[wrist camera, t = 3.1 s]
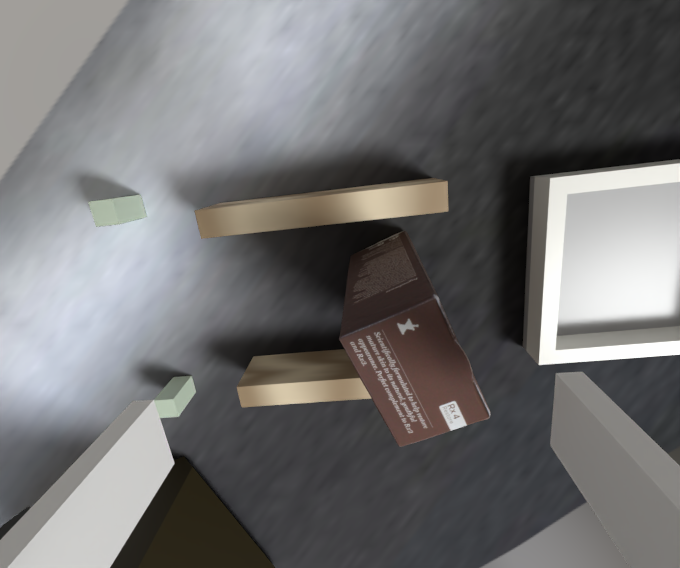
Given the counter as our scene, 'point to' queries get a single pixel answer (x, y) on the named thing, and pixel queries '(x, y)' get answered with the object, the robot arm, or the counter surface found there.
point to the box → (406, 345)
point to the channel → (306, 211)
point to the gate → (124, 211)
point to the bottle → (188, 529)
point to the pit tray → (603, 264)
